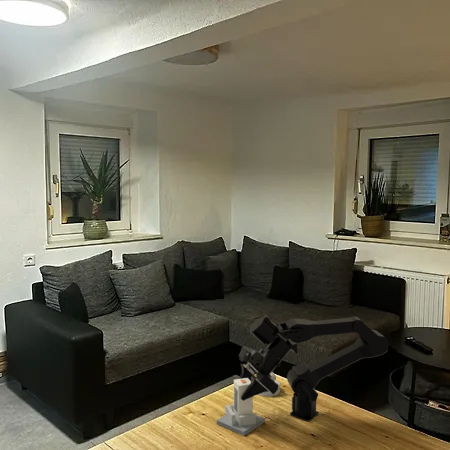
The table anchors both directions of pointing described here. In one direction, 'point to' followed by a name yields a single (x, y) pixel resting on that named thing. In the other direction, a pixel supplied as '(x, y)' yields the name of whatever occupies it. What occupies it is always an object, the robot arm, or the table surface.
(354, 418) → the table surface
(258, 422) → the plate
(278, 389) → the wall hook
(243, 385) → the white block orange patch
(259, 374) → the robot arm
